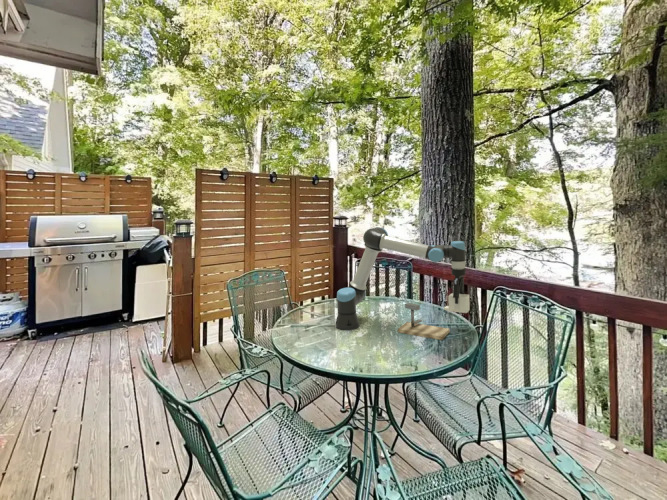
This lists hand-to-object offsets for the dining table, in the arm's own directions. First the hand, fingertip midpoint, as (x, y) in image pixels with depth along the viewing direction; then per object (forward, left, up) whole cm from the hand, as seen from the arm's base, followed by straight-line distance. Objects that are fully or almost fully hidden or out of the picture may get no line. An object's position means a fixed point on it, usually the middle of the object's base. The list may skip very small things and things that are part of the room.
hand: (458, 307), depth 196 cm
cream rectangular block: (-1, 0, -2) cm, 2 cm away
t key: (-22, -10, -11) cm, 27 cm away
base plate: (-17, -13, -14) cm, 25 cm away
